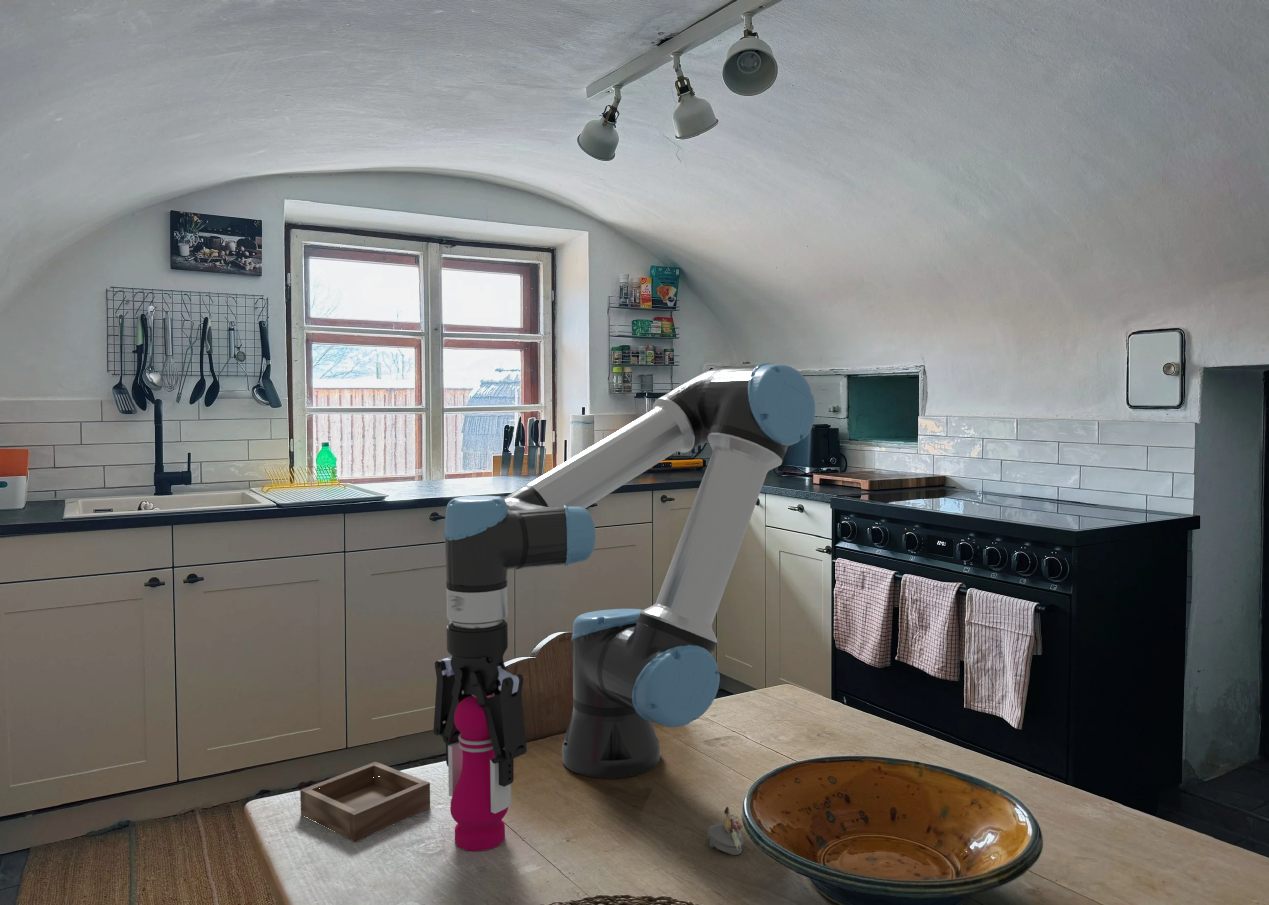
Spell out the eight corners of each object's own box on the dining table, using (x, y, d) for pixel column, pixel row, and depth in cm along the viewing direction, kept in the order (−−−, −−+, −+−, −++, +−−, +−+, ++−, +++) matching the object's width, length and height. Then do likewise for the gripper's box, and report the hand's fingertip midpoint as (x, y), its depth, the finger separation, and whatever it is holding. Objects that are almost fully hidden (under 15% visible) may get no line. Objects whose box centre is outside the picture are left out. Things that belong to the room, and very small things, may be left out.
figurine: (698, 842, 113) (704, 798, 112) (724, 834, 115) (730, 790, 114) (725, 866, 108) (732, 820, 107) (752, 856, 111) (759, 812, 110)
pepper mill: (497, 856, 110) (495, 694, 109) (441, 850, 111) (439, 690, 110) (516, 828, 117) (515, 676, 116) (464, 823, 118) (462, 673, 117)
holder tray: (430, 807, 123) (429, 782, 123) (355, 841, 113) (354, 814, 113) (375, 785, 130) (375, 761, 130) (300, 815, 121) (300, 789, 120)
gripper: (401, 614, 115) (404, 790, 117) (512, 639, 103) (514, 834, 105) (447, 604, 121) (449, 771, 123) (556, 626, 109) (558, 811, 111)
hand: (479, 800), depth 114 cm, fingers closed on pepper mill, 7 cm apart
